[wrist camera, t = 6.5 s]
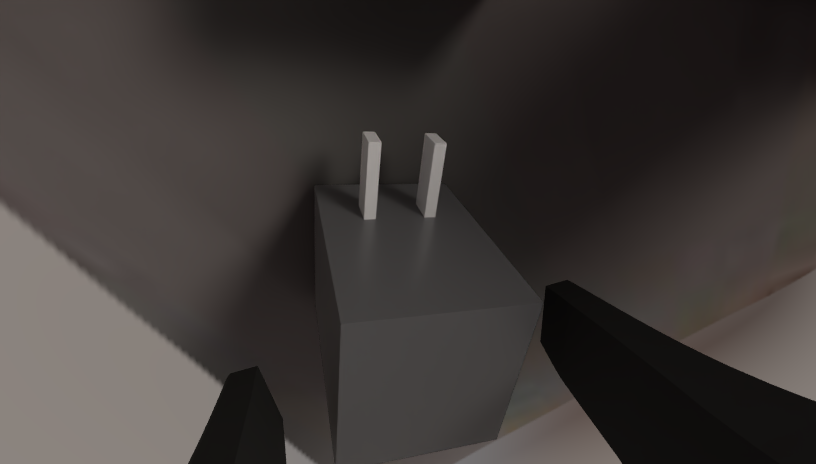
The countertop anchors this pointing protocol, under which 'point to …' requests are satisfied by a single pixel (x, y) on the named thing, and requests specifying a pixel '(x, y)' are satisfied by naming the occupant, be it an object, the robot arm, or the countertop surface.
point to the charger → (413, 315)
